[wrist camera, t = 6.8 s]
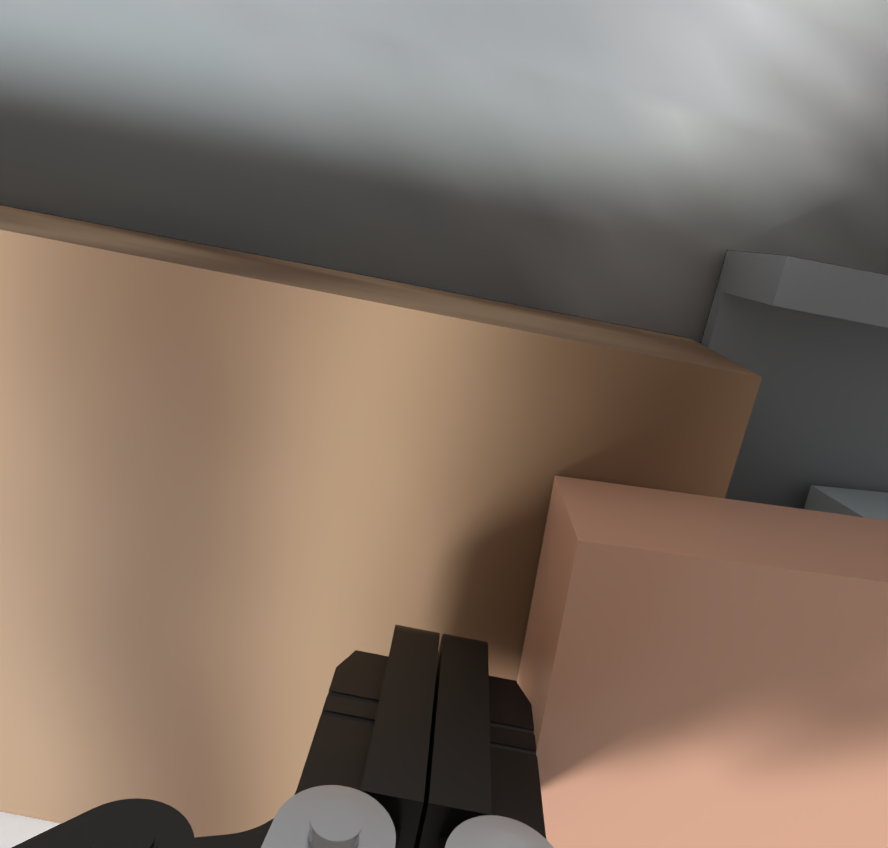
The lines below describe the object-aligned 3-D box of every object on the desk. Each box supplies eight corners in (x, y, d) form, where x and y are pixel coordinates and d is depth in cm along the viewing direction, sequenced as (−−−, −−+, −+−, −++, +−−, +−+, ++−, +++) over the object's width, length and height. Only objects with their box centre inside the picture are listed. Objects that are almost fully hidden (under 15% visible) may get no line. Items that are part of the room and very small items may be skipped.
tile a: (497, 784, 13) (505, 909, 11) (554, 475, 12) (578, 540, 9) (823, 827, 13) (902, 960, 11) (924, 525, 12) (1041, 602, 9)
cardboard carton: (-150, 637, 18) (-323, 748, 14) (-166, 173, 15) (-389, 154, 11) (569, 777, 18) (592, 927, 14) (690, 338, 15) (762, 376, 11)
